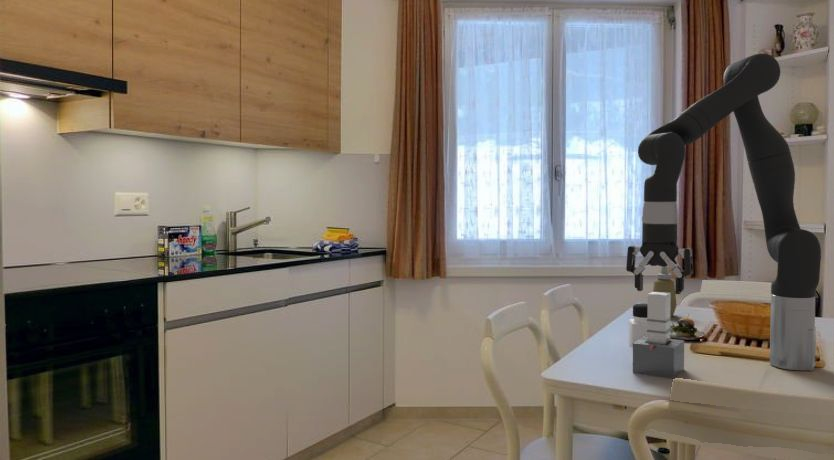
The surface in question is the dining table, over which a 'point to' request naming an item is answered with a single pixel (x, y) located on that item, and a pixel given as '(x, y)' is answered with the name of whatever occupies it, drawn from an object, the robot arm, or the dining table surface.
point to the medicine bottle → (638, 323)
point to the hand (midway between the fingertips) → (658, 292)
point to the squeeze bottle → (666, 287)
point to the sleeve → (658, 358)
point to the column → (658, 318)
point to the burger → (686, 330)
